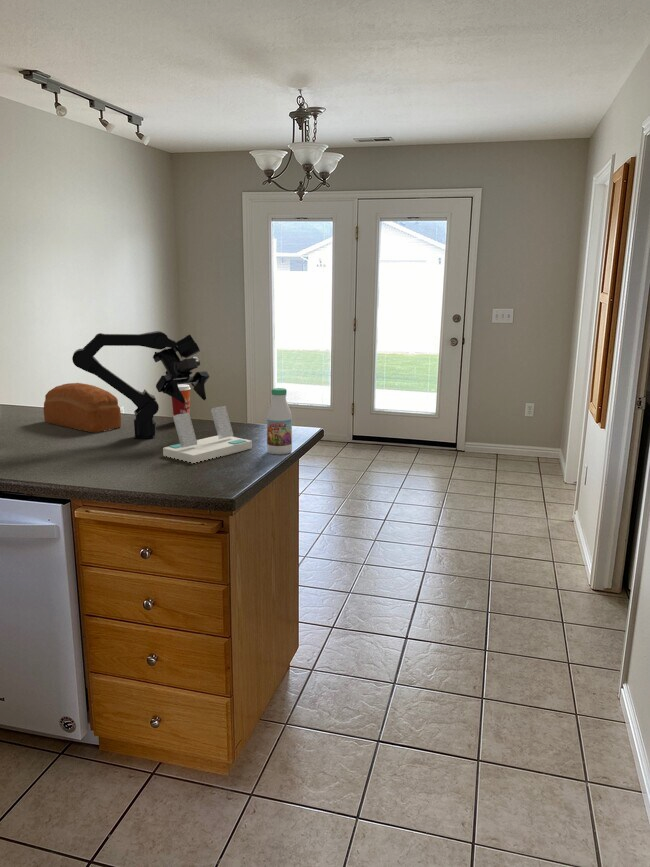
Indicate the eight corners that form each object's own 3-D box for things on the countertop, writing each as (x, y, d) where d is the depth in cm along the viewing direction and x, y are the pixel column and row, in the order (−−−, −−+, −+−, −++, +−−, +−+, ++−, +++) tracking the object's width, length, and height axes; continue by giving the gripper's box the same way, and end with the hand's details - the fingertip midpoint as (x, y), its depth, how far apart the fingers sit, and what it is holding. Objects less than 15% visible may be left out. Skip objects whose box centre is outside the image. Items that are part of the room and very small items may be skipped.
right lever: (218, 439, 207) (210, 409, 207) (230, 436, 211) (222, 406, 211) (222, 438, 206) (213, 407, 206) (233, 435, 210) (225, 405, 210)
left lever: (181, 448, 196) (172, 416, 196) (194, 445, 200) (185, 413, 200) (184, 447, 195) (175, 414, 195) (197, 444, 199) (189, 412, 199)
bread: (92, 434, 227) (89, 390, 224) (41, 422, 247) (37, 381, 243) (125, 427, 238) (123, 385, 235) (73, 416, 257) (70, 377, 254)
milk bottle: (267, 449, 208) (266, 387, 203) (291, 448, 208) (291, 386, 204) (267, 455, 200) (266, 390, 196) (292, 455, 201) (292, 390, 196)
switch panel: (163, 455, 199) (162, 446, 198) (222, 441, 217) (221, 433, 217) (193, 463, 190) (193, 454, 190) (252, 448, 209) (251, 439, 208)
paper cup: (187, 424, 244) (185, 387, 240) (168, 423, 245) (166, 386, 242) (195, 420, 251) (194, 384, 248) (176, 419, 252) (175, 383, 249)
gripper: (160, 350, 208) (182, 389, 204) (205, 347, 222) (227, 383, 218) (146, 372, 215) (167, 410, 210) (191, 368, 229) (212, 403, 224)
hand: (195, 401), depth 215 cm, fingers open, 8 cm apart
